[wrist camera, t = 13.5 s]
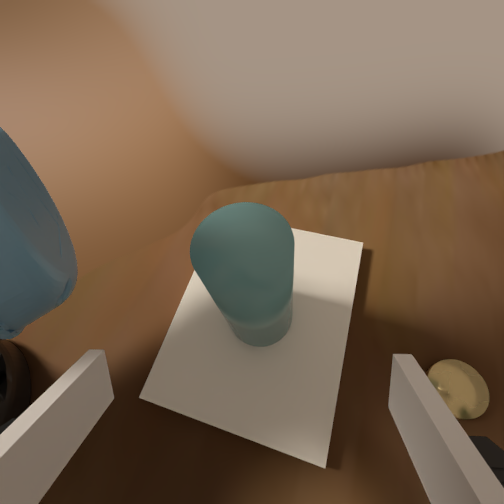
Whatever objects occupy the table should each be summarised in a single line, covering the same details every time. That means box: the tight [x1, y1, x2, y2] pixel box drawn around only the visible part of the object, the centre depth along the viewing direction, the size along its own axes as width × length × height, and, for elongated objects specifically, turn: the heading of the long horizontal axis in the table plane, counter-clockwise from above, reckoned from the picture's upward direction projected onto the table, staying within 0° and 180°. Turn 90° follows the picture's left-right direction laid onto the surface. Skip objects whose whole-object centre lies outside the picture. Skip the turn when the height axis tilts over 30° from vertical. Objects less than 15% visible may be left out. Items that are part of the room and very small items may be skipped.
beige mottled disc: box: [425, 359, 489, 419], centre depth 25 cm, size 4×4×1 cm
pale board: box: [139, 228, 363, 468], centre depth 29 cm, size 16×20×1 cm
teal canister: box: [190, 202, 295, 347], centre depth 23 cm, size 6×6×13 cm
